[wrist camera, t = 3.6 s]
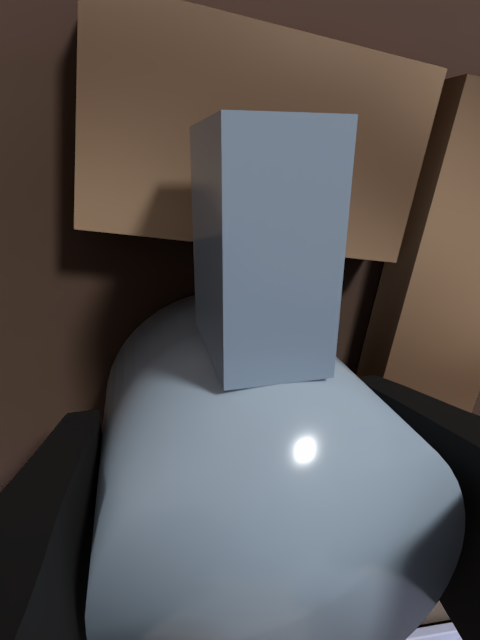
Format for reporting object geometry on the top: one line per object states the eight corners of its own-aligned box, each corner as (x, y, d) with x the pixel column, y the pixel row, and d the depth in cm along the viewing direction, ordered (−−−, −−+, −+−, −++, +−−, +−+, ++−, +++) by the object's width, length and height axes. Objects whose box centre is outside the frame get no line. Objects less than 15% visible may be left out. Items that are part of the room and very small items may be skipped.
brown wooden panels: (380, 582, 16) (398, 614, 15) (71, 623, 13) (65, 666, 12) (536, 109, 11) (583, 103, 10) (85, -1, 8) (78, -27, 7)
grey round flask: (312, 465, 13) (432, 665, 8) (117, 498, 11) (108, 762, 6) (338, 136, 10) (571, 111, 5) (72, 131, 8) (-13, 88, 3)
